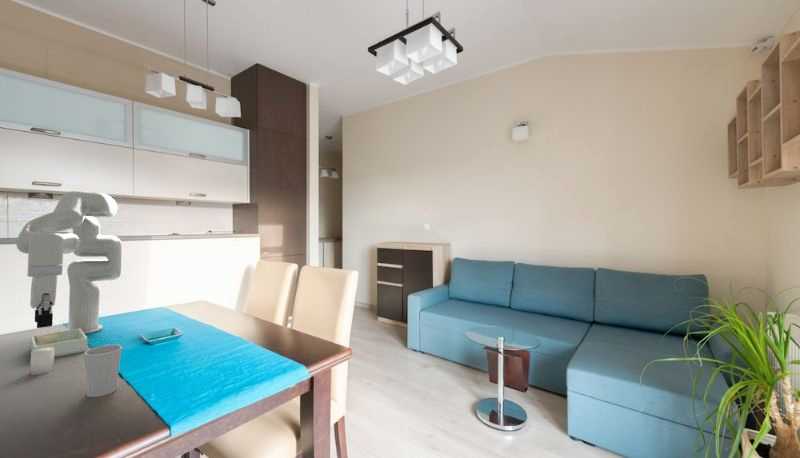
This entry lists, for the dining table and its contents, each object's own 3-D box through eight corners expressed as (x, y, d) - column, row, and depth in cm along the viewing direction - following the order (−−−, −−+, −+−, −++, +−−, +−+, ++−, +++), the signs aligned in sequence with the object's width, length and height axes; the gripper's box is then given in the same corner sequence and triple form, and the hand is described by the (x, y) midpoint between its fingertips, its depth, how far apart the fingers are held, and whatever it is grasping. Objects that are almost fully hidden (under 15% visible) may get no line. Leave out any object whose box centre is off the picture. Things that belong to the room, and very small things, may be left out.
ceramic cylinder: (32, 370, 103) (34, 348, 104) (55, 367, 106) (56, 345, 107) (27, 376, 99) (28, 353, 100) (50, 372, 102) (51, 350, 103)
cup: (127, 385, 96) (129, 345, 96) (100, 399, 88) (102, 355, 88) (103, 383, 96) (105, 343, 96) (74, 397, 88) (76, 353, 88)
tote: (30, 349, 120) (31, 335, 120) (79, 340, 131) (80, 328, 131) (33, 361, 110) (34, 347, 110) (87, 351, 120) (87, 337, 120)
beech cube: (35, 348, 120) (36, 335, 120) (55, 345, 123) (55, 332, 123) (36, 352, 116) (37, 338, 116) (56, 348, 120) (57, 335, 120)
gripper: (26, 269, 106) (23, 321, 105) (29, 274, 95) (26, 332, 94) (59, 267, 111) (57, 317, 111) (65, 272, 101) (63, 326, 100)
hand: (43, 324), depth 103 cm, fingers open, 9 cm apart
